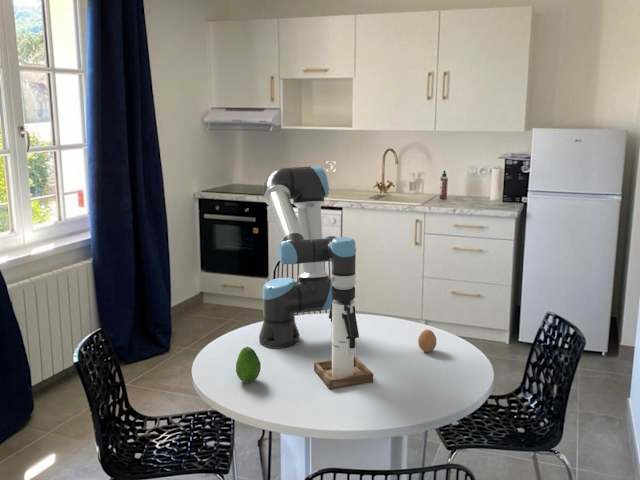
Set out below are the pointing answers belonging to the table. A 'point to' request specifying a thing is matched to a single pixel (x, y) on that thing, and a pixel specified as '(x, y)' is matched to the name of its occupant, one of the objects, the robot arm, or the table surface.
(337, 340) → the cylindrical container
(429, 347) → the egg
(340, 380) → the tray
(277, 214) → the robot arm
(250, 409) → the table surface
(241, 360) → the avocado
